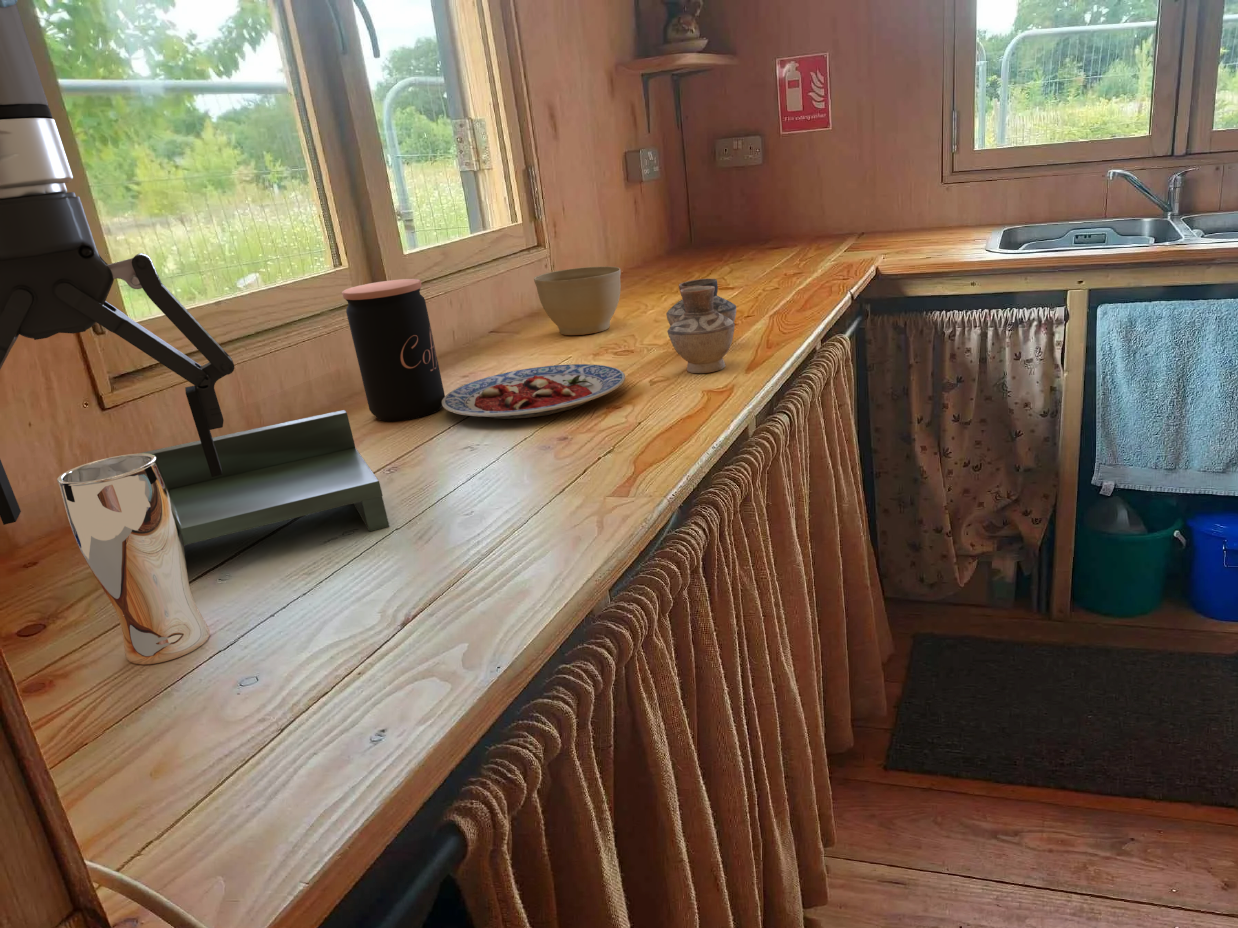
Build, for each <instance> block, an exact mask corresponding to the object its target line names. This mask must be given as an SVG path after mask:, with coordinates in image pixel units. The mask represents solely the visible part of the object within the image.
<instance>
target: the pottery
mask: <svg viewBox="0 0 1238 928" xmlns="http://www.w3.org/2000/svg"><path fill="white" fill-rule="evenodd" d="M718 286H719V285H718V279H716V278H698V279H692V280H687V281H683V282H680V283H679V284H678V290H679V293H680V296H681V299H680V300H678V301H677V302H676V303H674V304H673V305H672V307H671V308H669V309H668V310H667V312H666V319H667V321H668V322H667V323H668V324H669V326H670V327H669V328H667V331H666V332H667V335H668V338H669V340H670V343H671V345H672V347H673V348H674V350H675V351H676V353H677V354H678V355H679V356H680V357H681V358H682V359H683V360H684V361H686V362H687V364H686V366H687V367H686V372H688V373H692V374H709V373H713V372H718V371H721V370H723V369H725V367H726V363H725V360H724V357H726V355H727V354H728V352H729V351H730V348H731V345H732V343H733V339H734V334H735V327H736V326H735V325H736V323H735V320H736V317H737V305H736V304H735V303H733V302H732V301H730V300H728V299H725V298H724V297H722V296H720V295H718V291H719V287H718Z"/></svg>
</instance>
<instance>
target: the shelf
mask: <svg viewBox="0 0 1238 928" xmlns="http://www.w3.org/2000/svg"><path fill="white" fill-rule="evenodd" d="M212 438H213V442H214V445H215V448H216V451H217V455H218V458H219V461H220V464H221V469H222V475H219V476H214V477H212V476H211V473H210V470H209V466H208V463H207V460H206V457H205V454H204V450H203V447H202V444H201V441H200V439H199V440H195V441H191V442H184V443H181V444H176V445H171V446H166V447H162V448H156V449H153V450H147V451H143V452H139V453H137V454H140V453H144V454H152V455H154V456H156V459H157V462H158V465H159V467H160V469H161V472H162V474H163V476H164V478H165V481H166V483H167V485H168V488H169V490H170V493H171V495H172V498H173V501H174V504H175V506H176V510H177V513H178V517H179V520H180V524H181V530H182V535H183V541H184V546H187V545H191V544H195V543H200V542H204V541H208V540H211V539H216V538H220V537H223V536H227V535H232V534H236V533H240V532H243V531H247V530H251V529H252V530H253V529H254V528H255V529H256V528H259V527H265V526H267V525H272V524H275V523H280V522H283V521H288V520H291V519H297V518H301V517H305V516H308V515H313V514H316V513H321V512H324V511H328V510H332V509H337V508H340V507H345V506H349V505H352V504H353V506H354V508H355V509H356V511H357V513H358V515H359V516H360V518H361V519H362V522H363V523H364V525H365V526H366V528H367V530H368V532H374V531H377V530H381V529H384V528H389V527H390V523H389V518H388V514H387V509H386V506H385V502H384V497H383V491H382V488H381V482H380V480H379V479H378V477H377V476H376V475H375V473H374V471H372V468H370V466H369V465H368V463H367V462H366V460H365V459H364V457H363V456H362V455H361V454H360V452H359V450H358V449H357V447H356V443H355V440H354V435H353V431H352V427H351V424H350V420H349V416H348V412H347V411H346V410H345V409H343V410H337V411H332V412H328V413H327V412H326V413H323V414H318V415H313V416H308V417H303V418H299V419H295V420H289V421H285V422H281V423H275V424H271V425H266V426H260V427H256V428H251V429H247V430H242V431H238V432H233V433H228V434H224V435H219V436H214V437H213V436H212Z"/></svg>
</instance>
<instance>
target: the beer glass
mask: <svg viewBox="0 0 1238 928" xmlns="http://www.w3.org/2000/svg"><path fill="white" fill-rule="evenodd" d="M139 453H140V454H138V453H127V454H121V455H116V456H110V457H106V458H101V459H98V460H94V461H90V462H87V463H83V464H80V465H78V466H76V467H73V468H71V469H69V470H67V471H64V472H63V473H61V474H60V475H59V476H58V477H57V479H56V482H57V484H58V487H59V490H60V494H61V497H62V502H63V506H64V508H65V512H66V516H67V519H68V523H69V526H70V529H71V532H72V534H73V537H74V539H75V542H76V544H77V547H78V549H79V551H80V552H81V555H82V556H83V559H84V560H85V562H86V564H87V566H88V568H89V569H90V571H91V572H92V574H93V576H94V577H95V579H96V580H97V582H98V583H99V585H100V587H101V589H102V590H103V592H104V593H105V595H106V596H107V598H108V600H109V602H110V603H111V605H112V606H113V609H114V611H115V613H116V616H117V619H118V621H119V624H120V628H121V633H122V639H123V640H122V641H123V646H124V653H125V657H126V660H128V661H129V662H130V663H132V664H135V665H155V664H156V665H157V664H161V663H165V662H169V661H173V660H176V659H178V658H181V657H183V656H185V655H188V654H190V653H192V652H193V651H195V650H196V649H199V648H200V647H201V646H203V645H204V644H205V643H206V642H207V641H208V639H210V636H211V630H210V627H209V626H208V623H207V622H206V620H205V619H204V617H203V616H202V614H201V612H200V610H199V609H198V607H197V604H196V602H195V599H194V597H193V594H192V590H191V587H190V582H189V575H188V566H187V558H186V550H185V545H184V541H183V535H182V530H181V524H180V520H179V517H178V513H177V510H176V506H175V504H174V501H173V498H172V495H171V493H170V490H169V488H168V485H167V483H166V481H165V478H164V476H163V474H162V472H161V469H160V467H159V465H158V462H157V459H156V456H154V455H152V454H144V453H142V452H139Z"/></svg>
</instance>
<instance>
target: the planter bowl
mask: <svg viewBox="0 0 1238 928" xmlns="http://www.w3.org/2000/svg"><path fill="white" fill-rule="evenodd" d="M621 274H622V270H621V268H620V267H618V266H608V265H607V266H586V267H574V268H568V269H561V270H556V271H550V272H545V273H542V274H539V275H536V276H535V277H534V278H533V281H534V285H535V286H536V291H537V295H538V298H539V299H538V300H539V302H540V303H541V306H542V308H543V310H544V311H545V313H546V315H547V317H548V318H549V319H550V320H551V321H552V322H553V324H555V326H556V327H557V328H558V331H559V333H560V334H561V335H564V336H584V335H589V334H596V333H600V332H603V331H606V330H609V328H610V327H611V320H612V318H613V316H614V315H615V312H616V310H617V308H618V305H619V302H620V297H621V284H622V283H621Z"/></svg>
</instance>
